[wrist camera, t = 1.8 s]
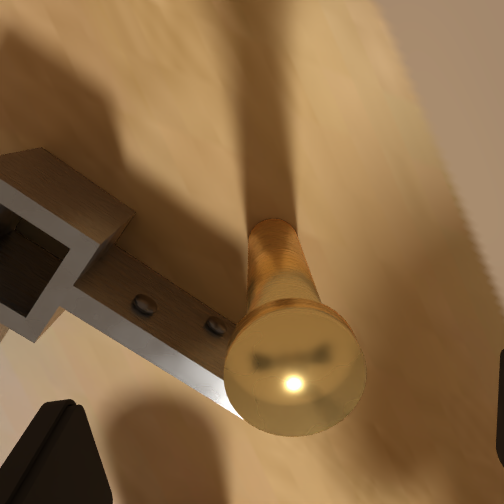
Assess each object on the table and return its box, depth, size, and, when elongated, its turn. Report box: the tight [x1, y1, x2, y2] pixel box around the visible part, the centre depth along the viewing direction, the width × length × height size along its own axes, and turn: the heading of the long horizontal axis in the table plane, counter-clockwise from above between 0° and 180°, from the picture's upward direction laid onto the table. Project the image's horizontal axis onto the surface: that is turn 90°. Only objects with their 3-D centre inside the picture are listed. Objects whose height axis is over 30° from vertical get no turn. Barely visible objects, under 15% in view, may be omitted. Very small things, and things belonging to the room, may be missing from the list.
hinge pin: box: [224, 219, 366, 437], centre depth 18 cm, size 4×4×13 cm
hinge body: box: [0, 148, 243, 419], centre depth 24 cm, size 16×16×6 cm
